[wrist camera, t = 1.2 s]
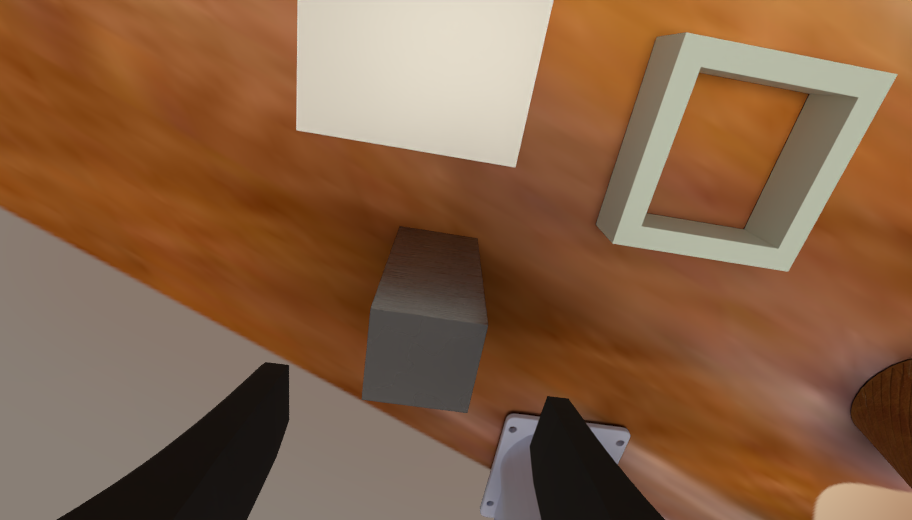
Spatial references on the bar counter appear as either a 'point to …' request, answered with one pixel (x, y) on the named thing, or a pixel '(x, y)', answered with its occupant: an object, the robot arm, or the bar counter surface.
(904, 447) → the disposable coffee cup
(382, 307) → the pin block
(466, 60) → the pad
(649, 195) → the frame
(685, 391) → the bar counter surface
